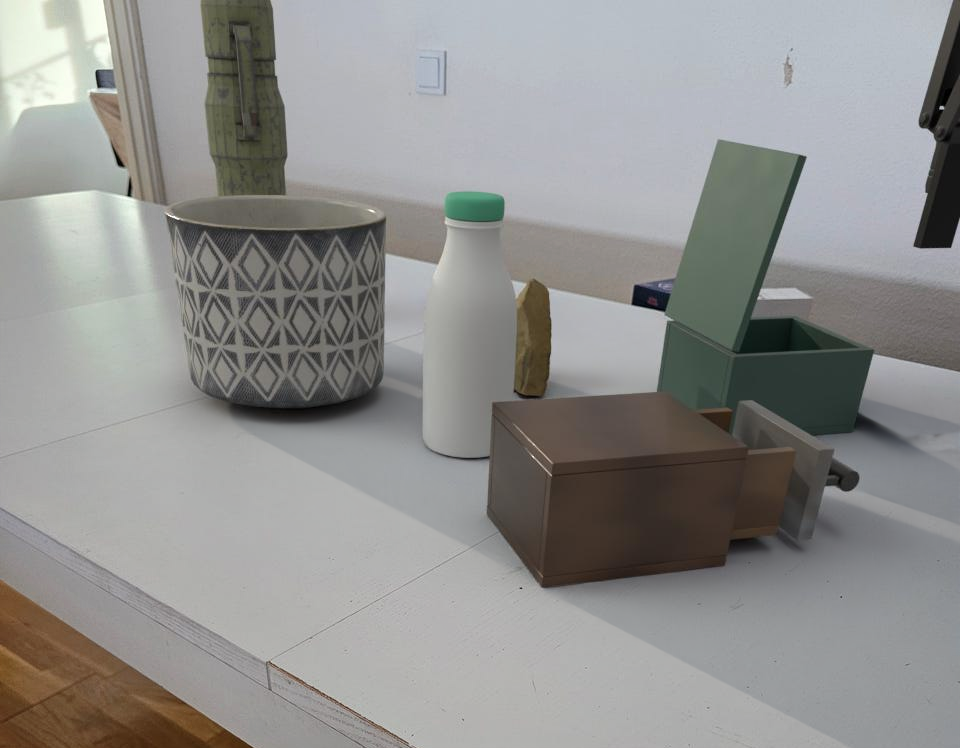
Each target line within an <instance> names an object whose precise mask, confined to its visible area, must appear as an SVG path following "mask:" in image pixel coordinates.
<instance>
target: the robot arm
mask: <svg viewBox="0 0 960 748" xmlns="http://www.w3.org/2000/svg"><path fill="white" fill-rule="evenodd" d="M938 47H939V48H938V51H937V54H936V57H935V61H934V64H933V68H932V71H931V74H930V79H929V82H928V86H927V89H926V92H925V96H924V100H923V102H922V106H921V110H920V113H919V116H918V121H917V122H918V127H919V128H920V129H925V130H928V131H929V132H930V133H931V134H933V139H934V140H935V148H934V152H933V155H932V159H931V162H930V165H929V170H928V174H927V177H926V181H925V184H924V186H925V187H924V188H925V189H924V193H925V194H926V198H925V202H924V205H923V209H922V213H921V216H920V219H919V223H918V228H917V231H916V235H915V238H914V241H913V245H912V247H913V248H917V249H919V250H920V249H924V250H925V249H952V246H953V243H954V240H955V236H956V233H957V229H958V227H959V223H960V0H952V2H951V6H950V9H949V12H948V17H947V20H946V23H945V26H944V30H943V34H942V37H941V40H940V43H939V46H938ZM941 107H943V108H941Z"/></svg>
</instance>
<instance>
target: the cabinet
mask: <svg viewBox="0 0 960 748" xmlns="http://www.w3.org/2000/svg"><path fill="white" fill-rule="evenodd" d="M492 413H493V414H492V420H491V440H490V456H489V459H488V461H489V463H488V479H487V480H488V481H487V501H486V515H487V516H488V518H489V519H490V520H491V522H492V523H493V525H495V528H496V529H497V530H498V531H499V532H500V534H501V535H502V536H503V539H505V540H506V542H507V544H509V546H510V547H511V548H512V550H513V551H514V552H515V554H516V556H517V557H518V558H519V559H520V561H521V562H522V564H523V565H524V566H525V567H526V568H527V570H528V571H529V573H530V575H532V577H533V578H534V579H535V580H536V582H537V583H538V585H539V586H540V587H541V588H550V587H559V586H567V585H576V584H583V583H591V582H592V583H593V582H599V581H600V582H601V581H609V580H615V579H624V578H632V577H640V576H649V575H657V574H665V573H672V572H673V573H674V572H681V571H689V570H697V569H704V568H713V567H720V566H722V567H723V566H725V565H726V561H727V555H728V551H729V547H730V542H731V540H730V537H731V532H732V528H733V523H734V518H735V513H736V508H737V504H738V499H739V494H740V489H741V484H742V480H743V475H744V470H745V465H746V460H747V459H746V458H747V455H748V450H749V447H748V446H746V445H745V444H743V443H742V442H740V441H739V440H737V439H736V438H734V437H733V436H731V435H730V434H728V433H727V432H725V431H724V430H722V429H721V428H719V427H718V426H716V425H715V424H713V423H712V422H710V421H709V420H707V419H706V418H704V417H703V416H702V415H700V414H699V413H697V412H696V411H694V410H693V409H691V408H690V407H688V406H687V405H685V404H684V403H682V402H681V401H679V400H678V399H676V398H675V397H673V396H672V395H670V394H669V393H667V392H665V391H664V392H657V391H652V392H651V391H650V392H633V393H618V394H601V395H586V396H585V395H584V396H570V397H555V398H540V399H539V398H537V399H522V400H520V399H519V400H513V401H504V402H493V403H492Z"/></svg>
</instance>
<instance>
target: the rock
mask: <svg viewBox="0 0 960 748" xmlns="http://www.w3.org/2000/svg"><path fill="white" fill-rule="evenodd" d="M516 304H517V337H516V356H515V375H514V391H516V392H517V393H519V394H521V395H522V396H533V397H535V396H536V397H543V396H544V395H545V393H546V390H547V387H548V385H547V384H548V381H549V379H550V370H551V369H550V368H551V367H550V366H551V356H552V336H553V335H552V329H553V326H552V324H553V323H552V317H551V301H550V291H549V289H548V287H547V286H545V285H544V284H543V283H542V282H539V281H538V280H537V279H535V278H530V279H529V280H528V281H527V283H526V285H525V286H524V288H523V289H522V290H521V291H520V292H519V294H518V295H517V297H516Z"/></svg>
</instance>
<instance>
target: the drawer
mask: <svg viewBox="0 0 960 748" xmlns="http://www.w3.org/2000/svg"><path fill="white" fill-rule="evenodd" d="M694 411H696V412H697V413H699V414H700V415H702V416H703V417H704V418H706V419H707V420H709V421H710V422H712V423H713V424H715V425H716V426H718V427H719V428H721V429H722V430H724V431H725V432H727V433H728V434H729V429H730V424H731V419H732V414H733V411H732V410H731V409H729V408H714V409H700V410H694ZM732 436H733V437H734V438H736V439H737V440H739V441H740V442H742V443H743V444H745V445H746V446H748V447H749V450H748V455H747V458H746V459H747V460H746V465H745V470H744V475H743V480H742V484H741V489H740V494H739V499H738V504H737V508H736V513H735V518H734V523H733V528H732V532H731V537H730V541H732V540H733V541H734V540H741V539H749V538H750V539H752V538H758V537H759V538H760V537H767V536H775V535H778V530H779V529H781V530H782V531H784V532H785V533H786V534H788V535H789V536H790V537H791V538H793V539H794V540H796V541H797V542H800V541H808V540H811V539H812V538H813V534H814V531H815V526H816V523H817V520H818V519H817V518H818V515H819V511H820V508H821V503H822V499H823V496H824V491H825V488H826V487H836V488H837V489H839V490H840V491H842V492H845V493H847V492H851V491H853V490H854V489H856V488H857V486H858V484H859V483H860V479H861V478H860V474H859V472H857V470H854V469H853V468H851V467H849V466H848V465H846V464H845V463H843V462H841V461H840V460H838V459H836V458H834V453H835V448H834V447H832V446H830V445H828V444H827V443H825V442H824V441H822V440H820V439H819V438H817V437H815V436H814V435H810V434H808V433H807V432H805V431H803V430H802V429H800V428H798V427H796V426H795V425H793V424H791V423H790V422H788V421H786V420H785V419H783V418H781V417H780V416H778V415H776V414H774V413H773V412H771V411H769V410H768V409H766V408H764V407H763V406H761V405H759V404H758V403H756V402H754V401H753V400H748V401H739V403H738V408H737V413H736V418H735V424H734V429H733V434H732Z"/></svg>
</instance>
